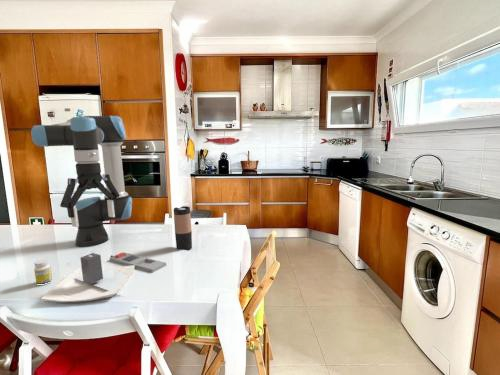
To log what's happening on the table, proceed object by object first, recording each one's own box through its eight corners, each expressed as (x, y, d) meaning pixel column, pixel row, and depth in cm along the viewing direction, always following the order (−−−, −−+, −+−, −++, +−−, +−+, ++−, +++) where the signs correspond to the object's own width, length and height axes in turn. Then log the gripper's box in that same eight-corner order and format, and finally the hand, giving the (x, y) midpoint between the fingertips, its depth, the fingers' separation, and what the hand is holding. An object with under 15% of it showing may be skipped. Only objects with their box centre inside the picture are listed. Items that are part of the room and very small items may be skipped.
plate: (116, 303, 90) (115, 295, 90) (35, 309, 88) (34, 301, 88) (139, 270, 114) (138, 263, 114) (76, 273, 112) (75, 267, 112)
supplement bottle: (42, 280, 107) (38, 259, 105) (55, 279, 107) (52, 258, 106) (33, 286, 102) (30, 264, 101) (47, 285, 102) (44, 263, 101)
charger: (83, 281, 100) (80, 257, 99) (95, 276, 104) (92, 252, 103) (91, 284, 98) (88, 259, 97) (103, 278, 102) (100, 254, 100)
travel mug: (188, 252, 131) (185, 210, 128) (173, 251, 132) (170, 209, 129) (194, 246, 138) (192, 206, 135) (180, 245, 140) (177, 206, 137)
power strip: (104, 261, 123) (103, 254, 122) (118, 255, 129) (117, 249, 128) (153, 274, 108) (152, 267, 108) (166, 267, 114) (166, 260, 114)
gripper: (54, 165, 86) (63, 232, 89) (125, 160, 107) (130, 214, 111) (42, 165, 90) (51, 229, 93) (113, 159, 111) (118, 212, 115)
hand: (94, 221), depth 102 cm, fingers open, 13 cm apart
